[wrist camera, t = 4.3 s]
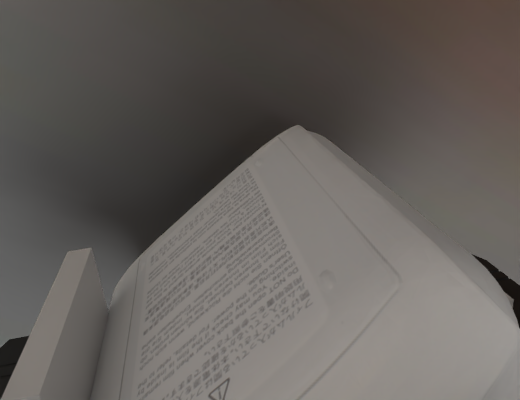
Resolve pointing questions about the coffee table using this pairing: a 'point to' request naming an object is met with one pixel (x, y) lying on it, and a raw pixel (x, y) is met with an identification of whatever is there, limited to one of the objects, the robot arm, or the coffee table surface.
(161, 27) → the coffee table surface
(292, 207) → the photo printer
